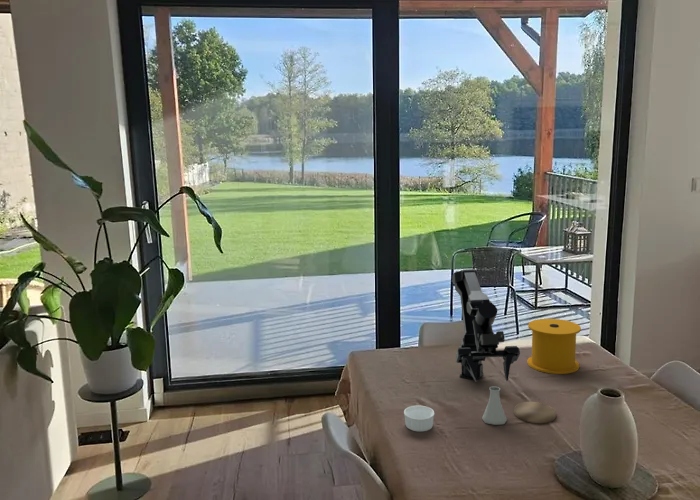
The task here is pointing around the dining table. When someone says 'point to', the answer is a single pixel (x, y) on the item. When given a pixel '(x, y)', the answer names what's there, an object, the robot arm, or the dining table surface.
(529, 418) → the brass disc
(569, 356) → the spool
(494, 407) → the flask
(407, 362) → the dining table surface
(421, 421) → the ramekin
